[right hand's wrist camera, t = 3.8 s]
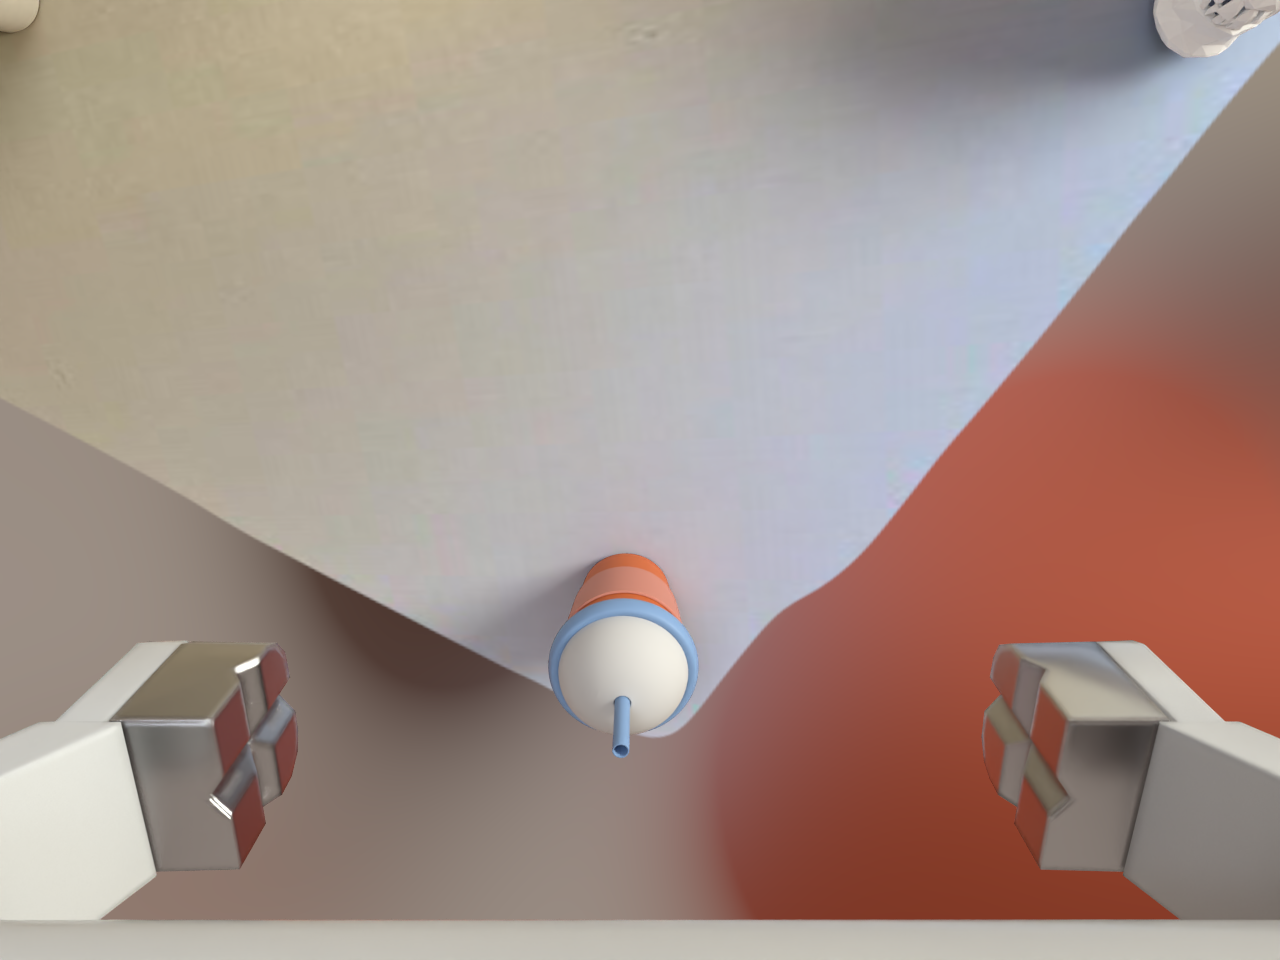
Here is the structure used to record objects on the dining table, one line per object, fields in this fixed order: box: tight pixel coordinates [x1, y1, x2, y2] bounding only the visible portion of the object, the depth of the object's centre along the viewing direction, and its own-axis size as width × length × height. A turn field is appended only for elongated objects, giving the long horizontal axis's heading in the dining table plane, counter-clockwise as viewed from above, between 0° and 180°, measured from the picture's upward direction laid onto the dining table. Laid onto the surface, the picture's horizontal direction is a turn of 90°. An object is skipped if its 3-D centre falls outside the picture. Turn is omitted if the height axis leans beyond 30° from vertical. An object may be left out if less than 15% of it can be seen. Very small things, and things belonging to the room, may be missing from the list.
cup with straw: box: [548, 554, 698, 758], centre depth 55 cm, size 9×9×18 cm
